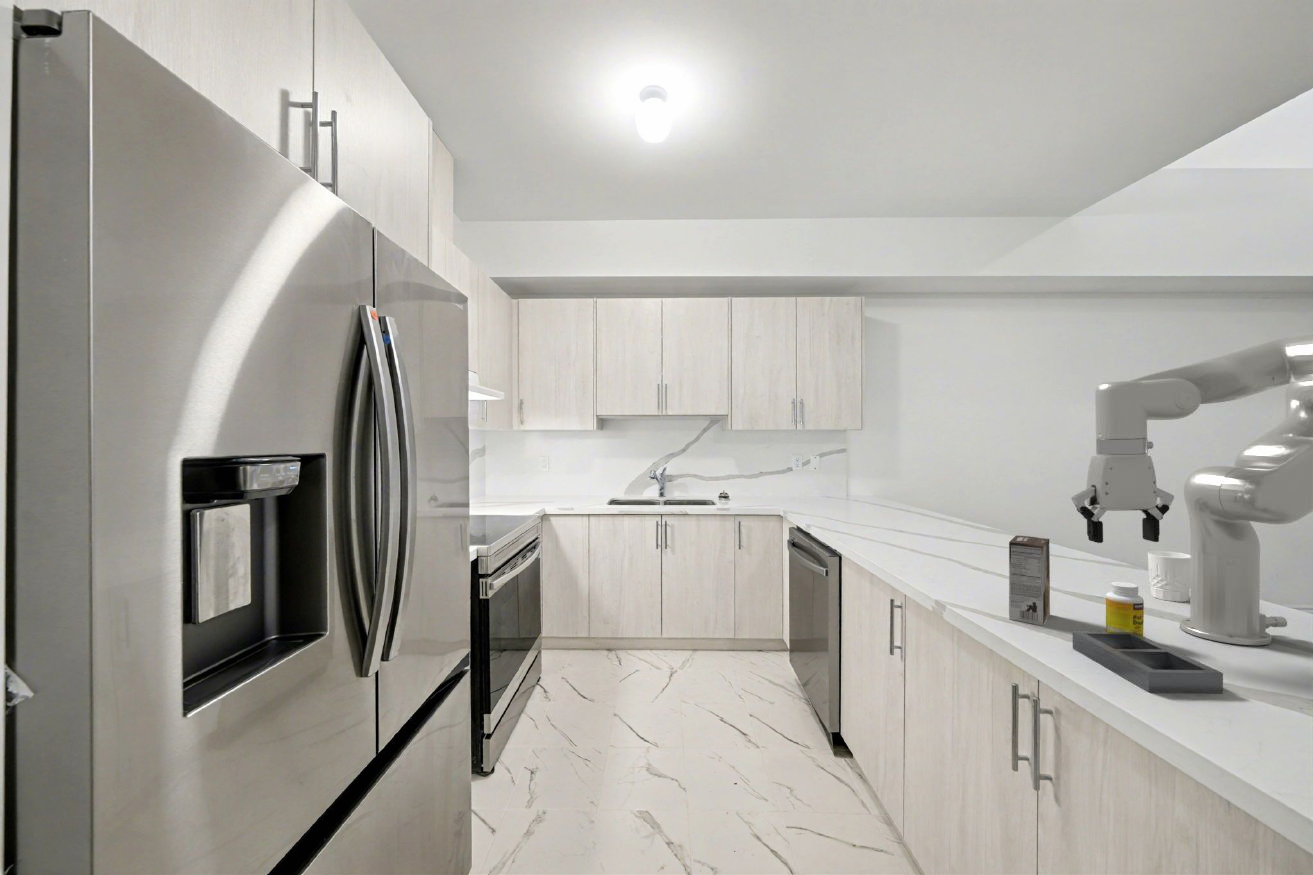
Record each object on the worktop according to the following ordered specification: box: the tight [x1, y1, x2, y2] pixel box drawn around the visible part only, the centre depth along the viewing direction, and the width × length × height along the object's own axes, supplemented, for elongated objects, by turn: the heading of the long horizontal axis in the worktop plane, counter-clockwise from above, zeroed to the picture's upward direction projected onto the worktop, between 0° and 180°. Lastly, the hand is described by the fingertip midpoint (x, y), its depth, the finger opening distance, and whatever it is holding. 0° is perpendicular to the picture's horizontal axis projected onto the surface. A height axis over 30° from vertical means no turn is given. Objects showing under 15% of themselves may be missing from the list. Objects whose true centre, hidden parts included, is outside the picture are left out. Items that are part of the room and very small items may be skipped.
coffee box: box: [1008, 535, 1051, 626], centre depth 126 cm, size 9×6×16 cm
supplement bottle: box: [1105, 581, 1145, 636], centre depth 112 cm, size 6×6×10 cm
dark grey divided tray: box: [1072, 631, 1224, 694], centre depth 99 cm, size 18×10×3 cm, turn 177°
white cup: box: [1147, 550, 1191, 603], centre depth 139 cm, size 8×8×10 cm
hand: (1123, 541), depth 112 cm, fingers open, 9 cm apart
